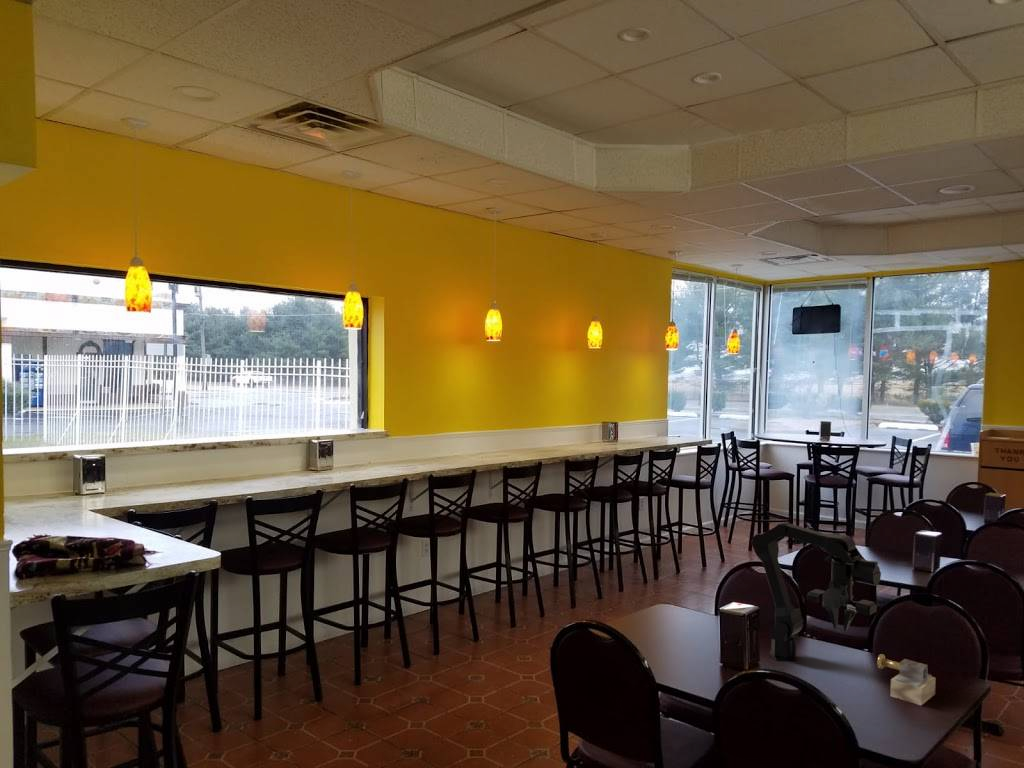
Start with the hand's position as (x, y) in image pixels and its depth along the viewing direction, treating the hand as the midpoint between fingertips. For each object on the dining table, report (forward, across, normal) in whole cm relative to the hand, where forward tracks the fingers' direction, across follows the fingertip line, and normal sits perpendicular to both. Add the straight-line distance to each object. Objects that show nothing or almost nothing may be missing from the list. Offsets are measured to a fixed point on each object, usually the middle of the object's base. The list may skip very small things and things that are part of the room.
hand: (840, 630), depth 229 cm
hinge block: (+13, +21, 0) cm, 24 cm away
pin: (+8, +16, 0) cm, 18 cm away
